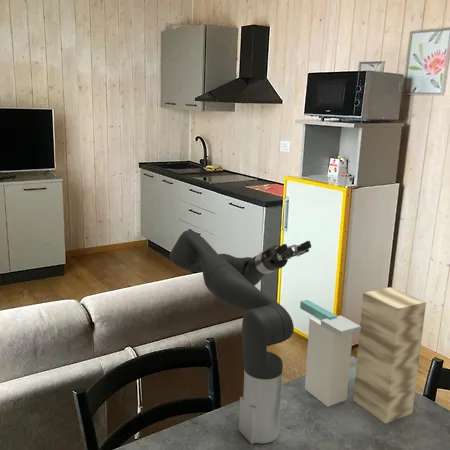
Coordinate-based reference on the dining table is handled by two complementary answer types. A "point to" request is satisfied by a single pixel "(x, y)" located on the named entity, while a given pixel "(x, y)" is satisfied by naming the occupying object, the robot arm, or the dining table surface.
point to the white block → (327, 364)
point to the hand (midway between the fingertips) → (298, 245)
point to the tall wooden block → (388, 353)
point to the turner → (330, 319)
